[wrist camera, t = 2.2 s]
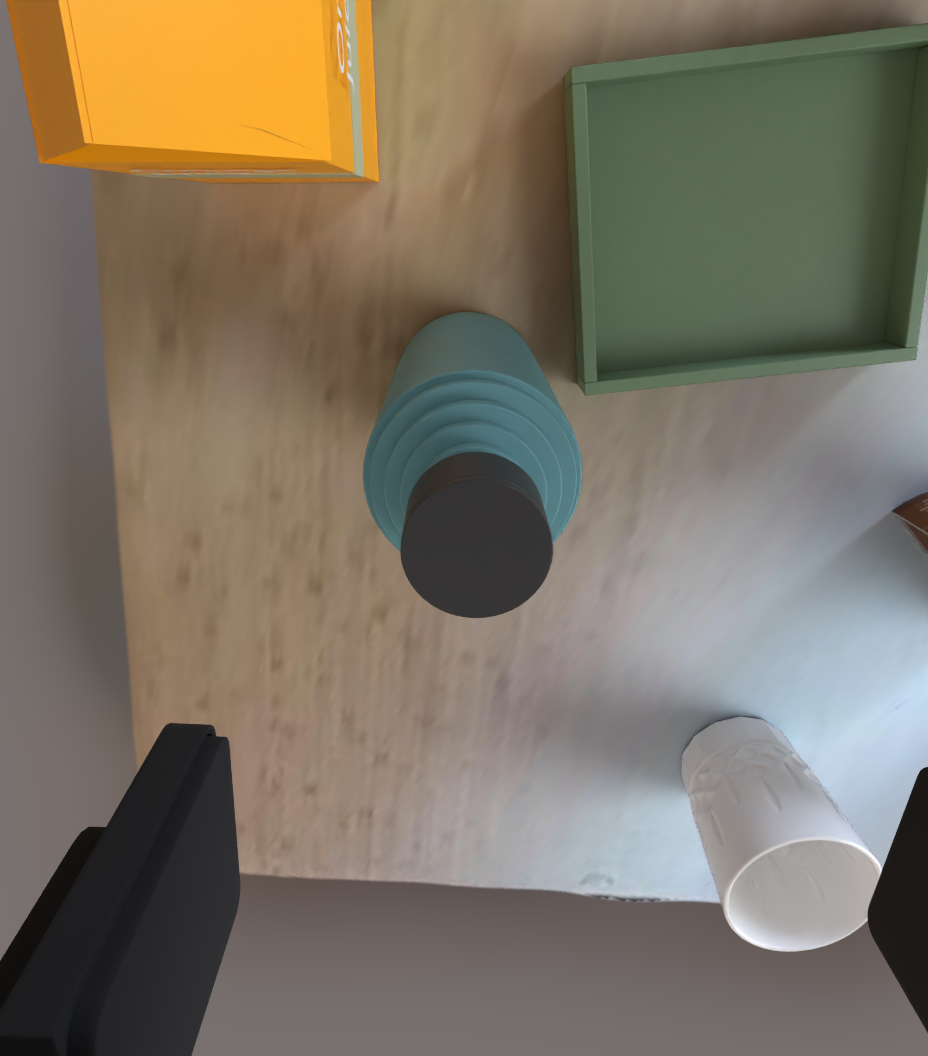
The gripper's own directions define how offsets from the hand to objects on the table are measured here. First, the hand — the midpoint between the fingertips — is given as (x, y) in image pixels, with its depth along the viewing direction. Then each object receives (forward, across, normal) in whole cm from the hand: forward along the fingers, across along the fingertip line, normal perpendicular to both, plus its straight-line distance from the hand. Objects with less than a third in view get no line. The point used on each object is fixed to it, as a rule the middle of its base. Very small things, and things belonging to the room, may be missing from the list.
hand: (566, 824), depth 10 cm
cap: (+10, +1, 0) cm, 10 cm away
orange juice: (+29, +9, -13) cm, 33 cm away
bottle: (+29, +1, 0) cm, 29 cm away
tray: (+28, -11, -8) cm, 32 cm away
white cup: (+29, -17, +22) cm, 40 cm away
